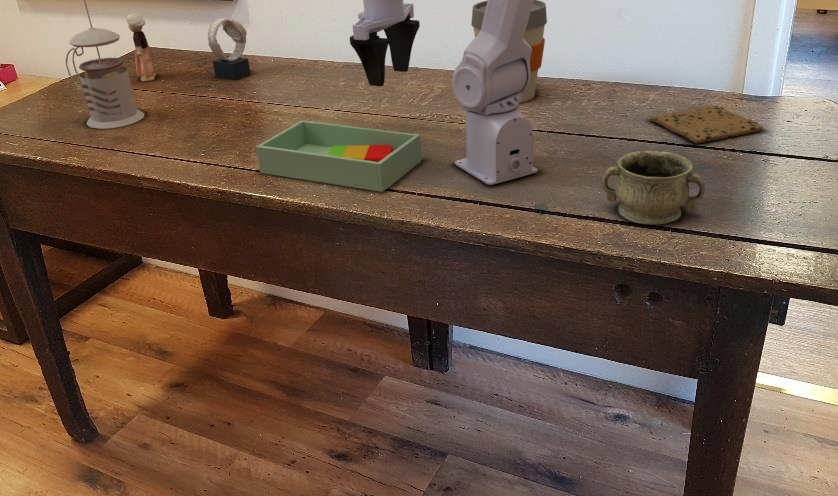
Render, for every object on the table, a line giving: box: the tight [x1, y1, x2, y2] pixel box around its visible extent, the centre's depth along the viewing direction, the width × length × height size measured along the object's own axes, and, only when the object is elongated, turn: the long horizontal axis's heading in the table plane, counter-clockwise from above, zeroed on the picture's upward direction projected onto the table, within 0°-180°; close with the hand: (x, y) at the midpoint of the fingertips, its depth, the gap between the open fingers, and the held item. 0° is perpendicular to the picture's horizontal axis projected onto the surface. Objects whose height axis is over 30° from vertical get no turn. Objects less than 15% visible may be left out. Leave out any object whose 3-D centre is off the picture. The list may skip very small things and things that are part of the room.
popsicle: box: [328, 145, 394, 162], centre depth 114 cm, size 6×15×2 cm, turn 85°
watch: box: [207, 17, 252, 81], centre depth 157 cm, size 6×8×11 cm
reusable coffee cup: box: [470, 0, 548, 103], centre depth 135 cm, size 13×13×15 cm
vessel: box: [601, 150, 706, 226], centre depth 96 cm, size 12×9×6 cm
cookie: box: [649, 104, 764, 144], centre depth 121 cm, size 12×12×1 cm
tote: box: [255, 119, 423, 193], centre depth 114 cm, size 20×12×4 cm, turn 63°
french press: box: [65, 0, 145, 129], centre depth 134 cm, size 10×12×25 cm
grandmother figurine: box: [126, 12, 157, 82], centre depth 158 cm, size 8×4×13 cm, turn 17°
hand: (389, 78), depth 119 cm, fingers open, 7 cm apart
